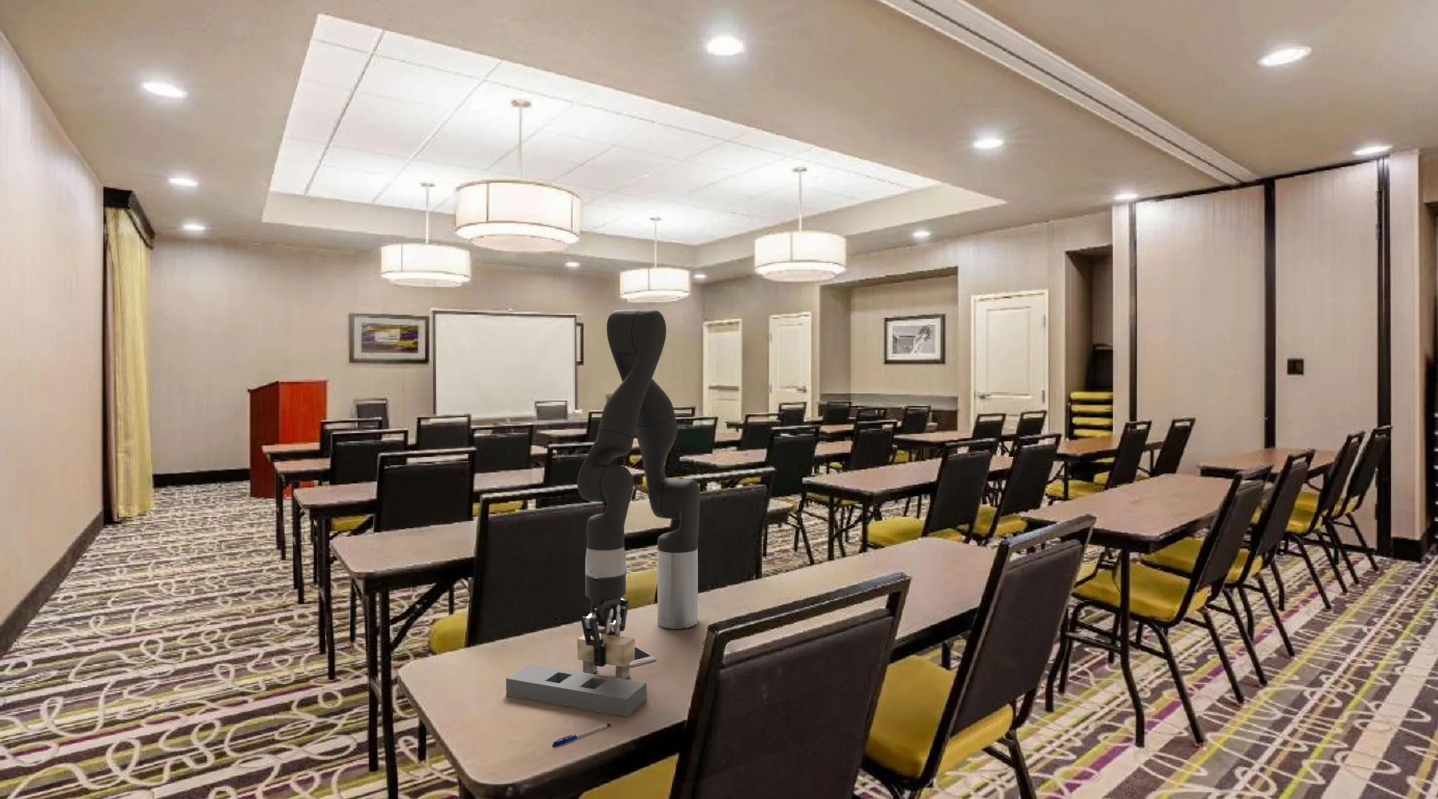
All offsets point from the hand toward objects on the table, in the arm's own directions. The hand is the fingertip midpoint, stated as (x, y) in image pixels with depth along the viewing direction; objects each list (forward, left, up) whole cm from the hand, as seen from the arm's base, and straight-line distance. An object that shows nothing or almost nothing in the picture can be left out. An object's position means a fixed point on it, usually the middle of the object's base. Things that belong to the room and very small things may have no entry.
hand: (606, 660), depth 138 cm
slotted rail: (+10, 0, -3) cm, 11 cm away
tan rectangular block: (0, 0, -3) cm, 3 cm away
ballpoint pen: (+22, +8, -3) cm, 24 cm away
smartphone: (-12, -3, -3) cm, 12 cm away
